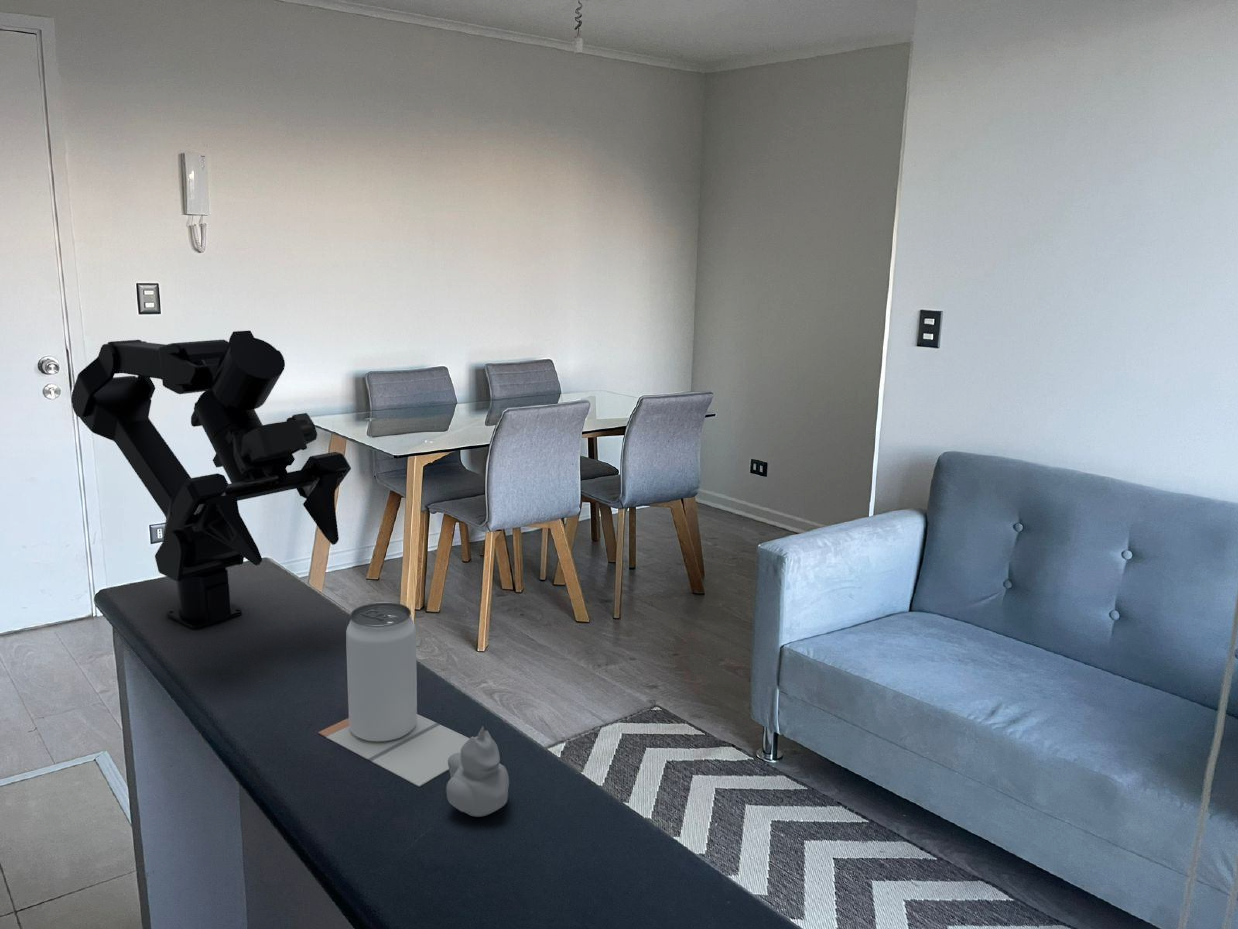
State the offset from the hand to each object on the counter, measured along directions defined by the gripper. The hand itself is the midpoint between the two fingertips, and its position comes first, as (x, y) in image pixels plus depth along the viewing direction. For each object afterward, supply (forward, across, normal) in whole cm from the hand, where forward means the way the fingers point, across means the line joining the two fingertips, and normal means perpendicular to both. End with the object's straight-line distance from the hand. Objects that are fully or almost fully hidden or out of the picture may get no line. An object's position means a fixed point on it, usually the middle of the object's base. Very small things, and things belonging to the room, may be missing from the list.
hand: (298, 552), depth 102 cm
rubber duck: (+33, -5, -13) cm, 36 cm away
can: (+21, -2, -2) cm, 21 cm away
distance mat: (+24, -2, -4) cm, 24 cm away
